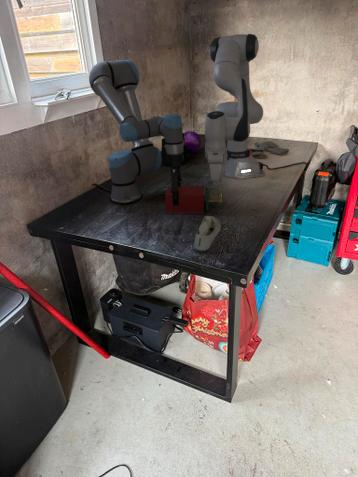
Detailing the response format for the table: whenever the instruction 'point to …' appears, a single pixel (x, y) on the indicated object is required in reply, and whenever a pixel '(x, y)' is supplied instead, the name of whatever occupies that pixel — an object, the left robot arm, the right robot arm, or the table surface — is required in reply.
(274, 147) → the pair of gloves
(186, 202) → the dark red block
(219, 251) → the table surface
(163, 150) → the handbag
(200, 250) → the ballet flat
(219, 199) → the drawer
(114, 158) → the left robot arm
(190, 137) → the decorative orb
